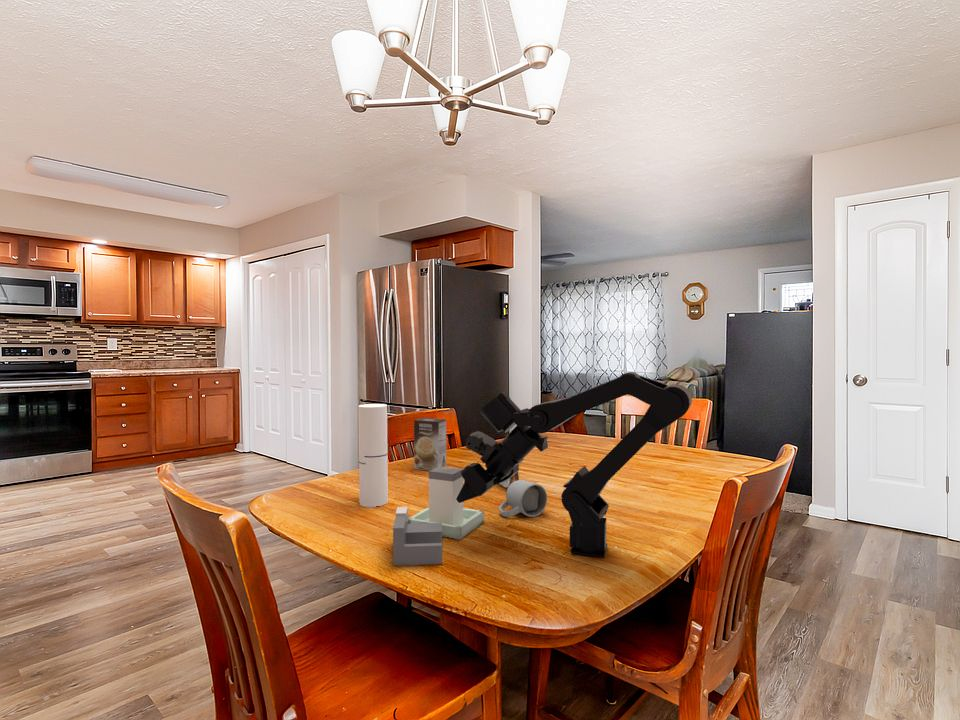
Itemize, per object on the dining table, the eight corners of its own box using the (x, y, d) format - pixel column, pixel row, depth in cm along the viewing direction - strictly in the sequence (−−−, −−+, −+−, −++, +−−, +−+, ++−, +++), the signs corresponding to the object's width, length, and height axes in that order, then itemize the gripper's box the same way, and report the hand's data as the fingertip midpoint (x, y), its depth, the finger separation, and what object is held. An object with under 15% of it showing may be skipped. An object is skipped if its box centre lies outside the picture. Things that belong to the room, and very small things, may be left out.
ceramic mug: (528, 505, 134) (527, 474, 134) (548, 514, 127) (547, 482, 127) (492, 512, 129) (491, 481, 129) (511, 522, 122) (510, 489, 121)
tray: (484, 521, 122) (484, 511, 122) (459, 539, 111) (459, 527, 111) (434, 514, 127) (434, 503, 127) (406, 530, 116) (406, 519, 116)
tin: (519, 492, 146) (519, 461, 145) (509, 493, 145) (509, 462, 144) (497, 478, 160) (497, 451, 159) (488, 479, 159) (488, 451, 158)
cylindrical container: (381, 508, 132) (380, 407, 131) (354, 506, 133) (353, 406, 132) (392, 499, 139) (391, 404, 138) (366, 498, 140) (365, 403, 139)
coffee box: (412, 469, 171) (412, 419, 171) (422, 465, 177) (422, 417, 176) (438, 472, 168) (438, 421, 167) (447, 467, 174) (447, 418, 173)
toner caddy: (463, 521, 120) (463, 469, 119) (452, 529, 115) (452, 474, 115) (440, 518, 122) (440, 466, 122) (428, 524, 118) (428, 471, 118)
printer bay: (441, 539, 111) (441, 504, 111) (442, 564, 99) (442, 524, 98) (398, 540, 110) (397, 505, 110) (393, 565, 98) (392, 526, 98)
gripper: (505, 414, 122) (463, 458, 127) (468, 426, 105) (422, 477, 110) (538, 451, 119) (494, 494, 124) (506, 469, 102) (456, 519, 107)
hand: (467, 495), depth 116 cm, fingers open, 9 cm apart
